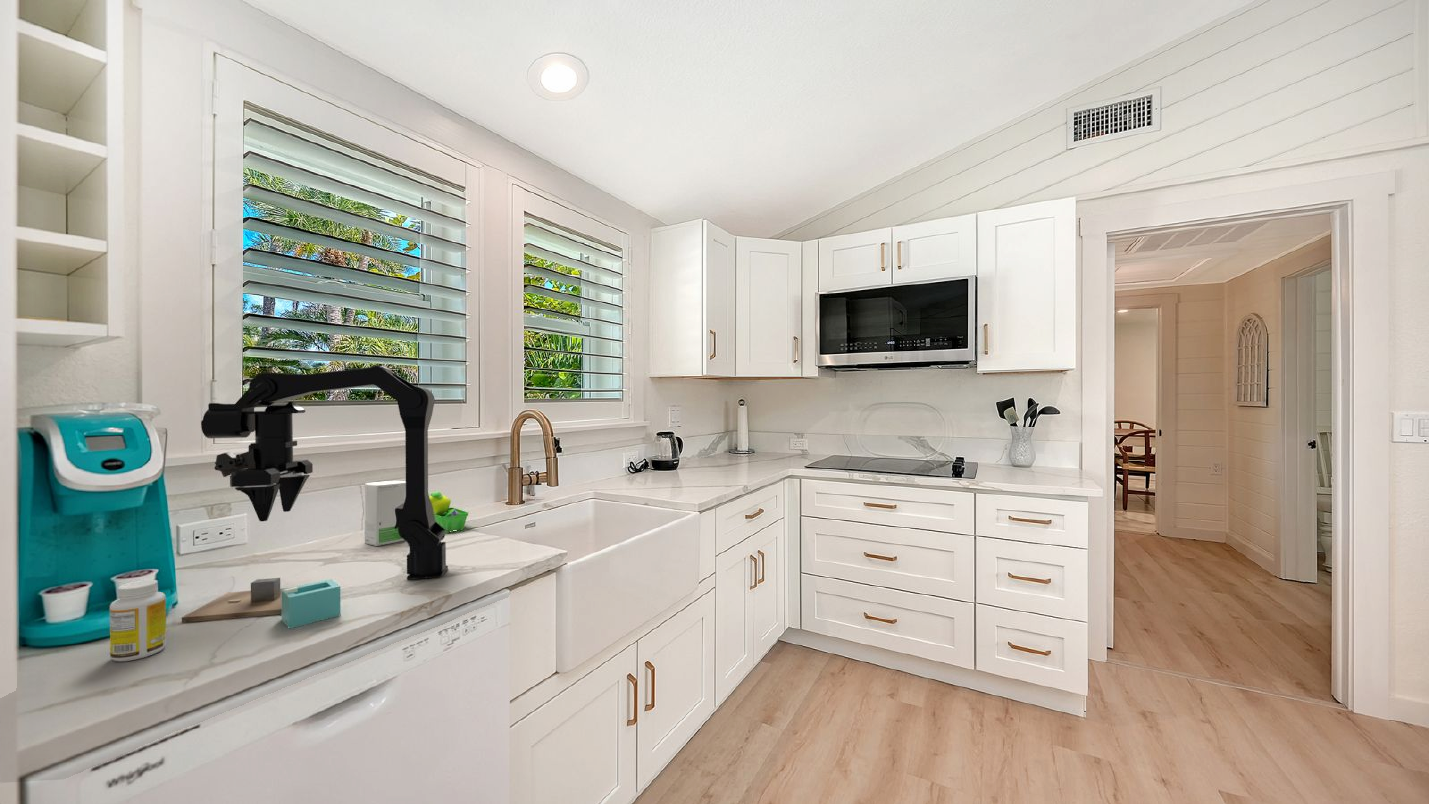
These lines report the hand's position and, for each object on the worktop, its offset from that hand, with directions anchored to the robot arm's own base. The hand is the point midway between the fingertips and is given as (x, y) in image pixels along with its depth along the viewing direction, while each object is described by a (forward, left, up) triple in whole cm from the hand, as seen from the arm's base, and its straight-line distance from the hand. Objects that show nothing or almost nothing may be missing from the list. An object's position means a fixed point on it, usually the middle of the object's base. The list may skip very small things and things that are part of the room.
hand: (275, 516), depth 105 cm
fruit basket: (-21, -44, -14) cm, 51 cm away
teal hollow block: (-14, +18, -14) cm, 27 cm away
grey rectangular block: (-3, +9, -14) cm, 17 cm away
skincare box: (-9, -34, -14) cm, 38 cm away
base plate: (-3, +9, -14) cm, 17 cm away
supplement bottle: (+4, +27, -14) cm, 31 cm away
